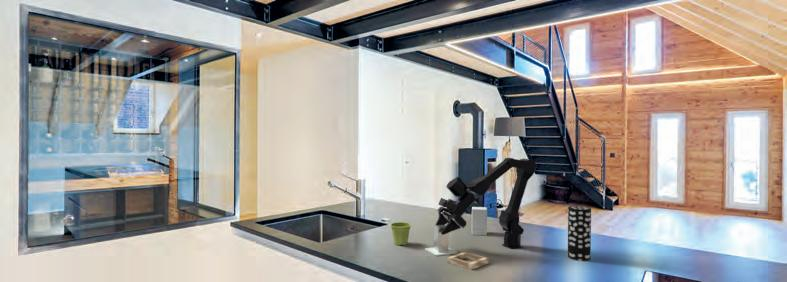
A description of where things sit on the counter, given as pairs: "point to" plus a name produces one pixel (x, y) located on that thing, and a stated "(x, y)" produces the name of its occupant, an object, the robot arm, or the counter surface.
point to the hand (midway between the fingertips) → (438, 231)
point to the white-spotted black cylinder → (579, 233)
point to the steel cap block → (440, 239)
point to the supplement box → (479, 221)
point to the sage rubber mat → (433, 251)
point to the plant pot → (400, 232)
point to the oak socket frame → (476, 262)
